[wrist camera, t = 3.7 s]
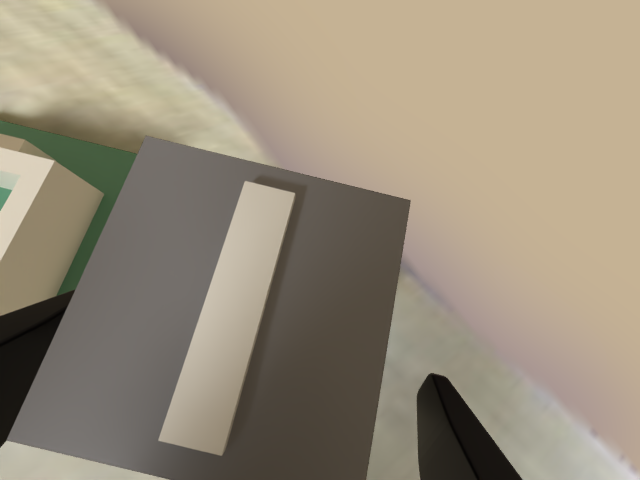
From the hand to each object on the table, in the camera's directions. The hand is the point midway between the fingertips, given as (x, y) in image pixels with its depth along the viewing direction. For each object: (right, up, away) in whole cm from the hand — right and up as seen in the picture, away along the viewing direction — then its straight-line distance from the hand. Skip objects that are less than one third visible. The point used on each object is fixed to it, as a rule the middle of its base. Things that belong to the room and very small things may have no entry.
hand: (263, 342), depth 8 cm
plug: (-1, -1, +8) cm, 9 cm away
